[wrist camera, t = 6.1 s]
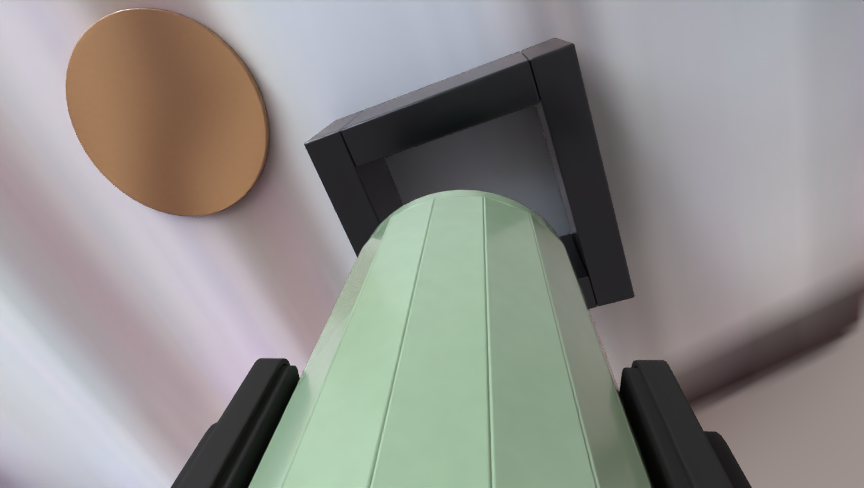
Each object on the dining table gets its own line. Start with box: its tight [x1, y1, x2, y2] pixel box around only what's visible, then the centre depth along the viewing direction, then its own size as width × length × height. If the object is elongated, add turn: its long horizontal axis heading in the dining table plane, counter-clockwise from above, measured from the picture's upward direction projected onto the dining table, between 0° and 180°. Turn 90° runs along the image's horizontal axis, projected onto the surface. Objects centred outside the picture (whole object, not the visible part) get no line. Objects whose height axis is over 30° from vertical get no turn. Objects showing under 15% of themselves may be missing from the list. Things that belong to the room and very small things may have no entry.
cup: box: [248, 190, 655, 488], centre depth 10 cm, size 6×6×10 cm
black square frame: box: [304, 38, 634, 309], centre depth 23 cm, size 11×11×5 cm
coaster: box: [66, 8, 269, 216], centre depth 24 cm, size 10×10×1 cm
